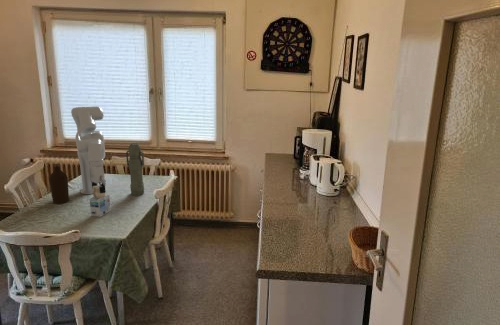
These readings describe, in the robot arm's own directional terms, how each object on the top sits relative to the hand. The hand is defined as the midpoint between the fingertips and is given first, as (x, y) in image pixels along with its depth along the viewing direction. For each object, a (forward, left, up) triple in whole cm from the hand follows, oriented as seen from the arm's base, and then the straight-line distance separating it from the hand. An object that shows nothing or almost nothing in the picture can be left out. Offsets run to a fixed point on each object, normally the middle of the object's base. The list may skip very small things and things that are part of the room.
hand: (98, 190), depth 219 cm
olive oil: (-37, -9, -14) cm, 40 cm away
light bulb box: (0, 0, -14) cm, 14 cm away
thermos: (-16, +34, -14) cm, 40 cm away
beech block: (0, 0, -3) cm, 3 cm away
